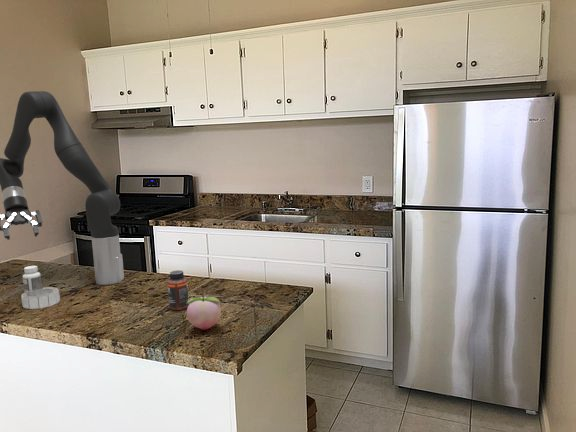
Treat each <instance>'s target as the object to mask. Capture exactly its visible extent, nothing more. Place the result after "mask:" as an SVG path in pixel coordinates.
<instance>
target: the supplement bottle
mask: <svg viewBox="0 0 576 432" xmlns="http://www.w3.org/2000/svg"><path fill="white" fill-rule="evenodd" d="M184 275H185V274H184V271H183V270H173V271H170V272H169V277H170V278H169V279H167V294H168V308H169V309H170V310H172V311H182V310H185V309H186V310H187V308H188V306H189V304H190V303H187V302H188V301H189V300H190V299H189V288H188V279H187V278H186V277H185V276H184ZM186 303H187V304H186Z"/></svg>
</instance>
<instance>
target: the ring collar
mask: <svg viewBox="0 0 576 432" xmlns="http://www.w3.org/2000/svg"><path fill="white" fill-rule="evenodd" d="M20 295H21V296H20V297H21V306H22V307H23V309H27V310H39V309H43V308H48V307H52V306H54V305H56V304H58V303H60V301H61V296H60V289H58V287H53V286H49V287H46V286H45V287H42V288H38V289H33V290H30V291H27V292H23V293H22V294H20Z"/></svg>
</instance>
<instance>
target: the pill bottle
mask: <svg viewBox="0 0 576 432" xmlns="http://www.w3.org/2000/svg"><path fill="white" fill-rule="evenodd" d="M38 270H39V269H38V266H37V265H29V266H25V267H24V268H23V272H24V274H22V284H23V291H24V292H27V291H30V290H33V289H38V288H43V283H42V274H41V272H40V271H38ZM24 292H23V293H24Z"/></svg>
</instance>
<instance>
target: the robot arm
mask: <svg viewBox="0 0 576 432" xmlns="http://www.w3.org/2000/svg"><path fill="white" fill-rule="evenodd" d="M43 118H45V119H46V122H48V123H49V126H50V127H51V130H52V131H53V148H54V152H55V155H56V156H57V158H58V159H59V161H60V163H61V164H62V166H63V167H64V168H65V169H66V170H67V172H69V173H70V174H71V175H73V176H74V177H75V178H76V179H78V180H79V181H80V182H82V183H83V184H84V185H85V187H87V189H88V190H89V192H90V193H91V194H89V195H88V196H87V197H86V199H85V205H84V206H85V214H86V215H85V217H86V221H87V223H86V224H87V227H88V230H89V232H90V234H91V235H90V236H91V244H92V245H91V246H92V247H91V248H92V255H93V266H94V267H93V268H94V275H95V276H94V277H95V284H97V285H99V286H106V285H107V286H108V285H109V286H110V285H114V284H121V283H122V282H123V280H124V279H125V274H124V272H125V271H124V260H123V253H121V247H120V246H121V245H120V235H119V234H120V233H119V227H118V226H116V225H115V224H114V225H113V223H112V218H111V216H113V215H116V214H117V213H118V212H120V209H121V200H120V198H119V195H118V194H117V192H115V190H114V189H113V188H112V187H111V186H110V184H109V182H107V181H106V179H105V178H104V177H103V175H102V174H101V172H100V170H99V169H98V168H97V166H96V165H95V163H94V162H93V160H92V159H91V157H90V155H89V153H88V152H87V151H86V149H85V147H84V146H83V143H81V141H80V140H79V138H78V136H77V135H76V134H75V132H74V130H73V129H72V127H71V125H70V124H69V121H68V120H67V119H66V116H65V115H64V113H63V111H62V108H61V106H60V104H59V103H58V101H57V100H56V98H55V96H54V95H53V94H52V93H50V92H48V91H45V90H37V91H33V90H32V91H25V92H23V93H22V94H21V95H20V97H19V99H18V103H17V106H16V111H15V116H14V122H13V126H12V127H13V128H12V131H11V133H10V137H9V139H8V142H7V144H6V146H5V148H4V149H3V150H4V152H3V154H4V156H5V158H3V157H2V158H1V157H0V189H1V195H2V203H3V209H4V213H5V214H0V232H1V231H2V232H3V237H4V239H7V241H8V240H10V239H11V235H10V230H9V229H10V228H11V227H12V226H13V225H14V226H19V225H25V224H26V225H27V226H29V227H32V231H33V234H34V237H38V236H39V234H40V233H39V232H40V230H39V227H43V219H42V215H41V212H40V210H39V209H37V210H35V211H30V210H29V204H28V201H27V197H26V196H27V195H26V193H25V190H24V187H23V186H24V185H23V181H22V179H20V178H21V177H22V176H23V174H24V170H25V167H24V166H25V158H26V156H27V154H28V153H29V149H30V148H31V144H32V138H31V134H30V130H29V129H30V125H31V124H32V122H33V121H34V120H35V119H43ZM32 217H33V218H34V219H33V218H32ZM35 219H36V221H35ZM3 220H6V221H5V223H4V225H1V224H2V222H3Z"/></svg>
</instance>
